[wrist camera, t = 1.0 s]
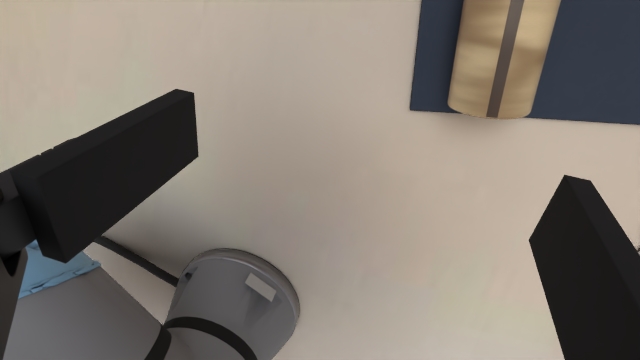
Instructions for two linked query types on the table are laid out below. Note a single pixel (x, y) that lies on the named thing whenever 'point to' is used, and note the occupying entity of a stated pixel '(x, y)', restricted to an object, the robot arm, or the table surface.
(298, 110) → the table surface
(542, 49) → the roller
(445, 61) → the board
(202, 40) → the table surface
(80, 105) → the table surface
